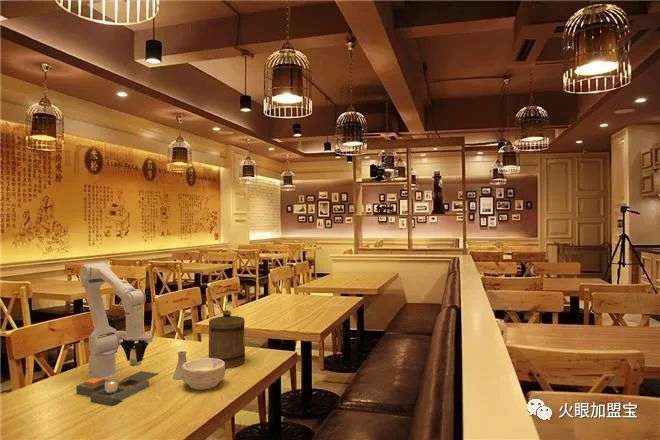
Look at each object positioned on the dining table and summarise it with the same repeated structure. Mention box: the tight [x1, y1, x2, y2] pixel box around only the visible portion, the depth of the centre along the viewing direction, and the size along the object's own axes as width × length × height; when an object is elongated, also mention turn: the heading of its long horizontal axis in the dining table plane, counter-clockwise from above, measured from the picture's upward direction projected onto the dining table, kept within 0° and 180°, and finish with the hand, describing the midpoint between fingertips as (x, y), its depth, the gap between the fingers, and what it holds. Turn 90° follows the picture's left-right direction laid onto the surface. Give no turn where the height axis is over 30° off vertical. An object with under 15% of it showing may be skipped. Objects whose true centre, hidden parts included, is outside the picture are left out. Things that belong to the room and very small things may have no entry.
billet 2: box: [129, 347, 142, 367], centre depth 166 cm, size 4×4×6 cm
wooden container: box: [208, 309, 246, 369], centre depth 189 cm, size 15×15×22 cm
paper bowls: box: [181, 357, 226, 391], centre depth 165 cm, size 15×15×8 cm
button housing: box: [75, 378, 109, 398], centre depth 160 cm, size 8×8×3 cm
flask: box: [172, 350, 188, 381], centre depth 172 cm, size 7×7×10 cm
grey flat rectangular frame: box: [90, 377, 150, 407], centre depth 157 cm, size 10×16×2 cm, turn 159°
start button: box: [85, 377, 104, 386], centre depth 160 cm, size 4×4×3 cm
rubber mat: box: [123, 370, 159, 381], centre depth 173 cm, size 9×9×1 cm
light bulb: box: [105, 379, 119, 396], centre depth 153 cm, size 4×4×6 cm
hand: (134, 360), depth 165 cm, fingers closed on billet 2, 4 cm apart
